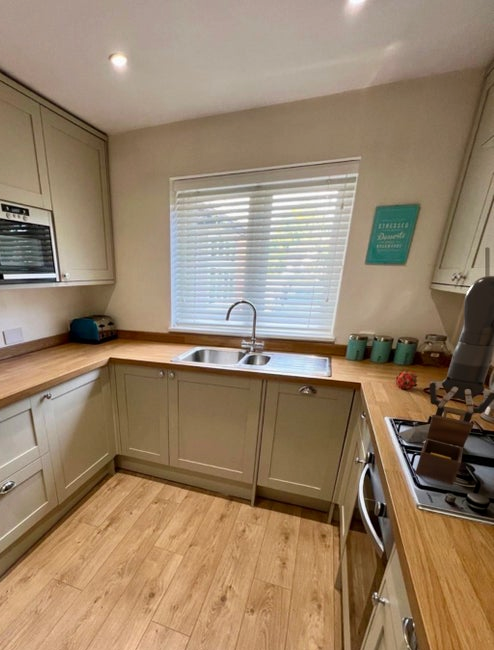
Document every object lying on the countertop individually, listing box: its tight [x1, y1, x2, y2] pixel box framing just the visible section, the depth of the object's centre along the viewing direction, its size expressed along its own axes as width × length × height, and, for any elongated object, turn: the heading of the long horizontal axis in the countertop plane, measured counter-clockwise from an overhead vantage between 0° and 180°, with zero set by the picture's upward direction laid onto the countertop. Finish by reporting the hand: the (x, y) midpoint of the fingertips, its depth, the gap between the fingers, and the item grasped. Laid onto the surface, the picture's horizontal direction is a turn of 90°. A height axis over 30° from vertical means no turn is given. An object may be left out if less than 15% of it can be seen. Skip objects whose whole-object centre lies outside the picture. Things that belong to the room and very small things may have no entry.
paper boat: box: [396, 421, 430, 443], centre depth 106 cm, size 12×6×9 cm
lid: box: [427, 405, 474, 448], centre depth 88 cm, size 11×8×5 cm
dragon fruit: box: [394, 370, 418, 390], centre depth 155 cm, size 8×8×12 cm
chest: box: [415, 439, 464, 486], centre depth 89 cm, size 10×8×7 cm
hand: (450, 422), depth 89 cm, fingers closed on lid, 4 cm apart
